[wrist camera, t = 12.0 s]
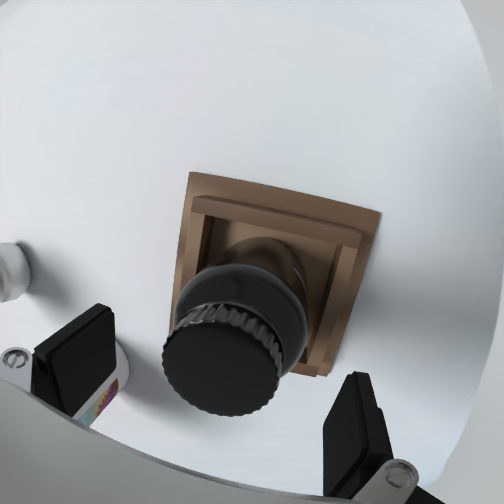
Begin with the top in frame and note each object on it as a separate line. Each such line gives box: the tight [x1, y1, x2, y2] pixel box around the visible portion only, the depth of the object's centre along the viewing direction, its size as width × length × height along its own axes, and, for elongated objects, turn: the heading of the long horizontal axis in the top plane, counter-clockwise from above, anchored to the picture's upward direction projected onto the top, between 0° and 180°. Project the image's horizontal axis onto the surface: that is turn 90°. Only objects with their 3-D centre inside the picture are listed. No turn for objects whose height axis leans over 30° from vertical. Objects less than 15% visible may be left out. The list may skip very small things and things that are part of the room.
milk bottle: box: [72, 341, 130, 427], centre depth 18 cm, size 8×8×20 cm
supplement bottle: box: [162, 237, 308, 417], centre depth 17 cm, size 7×7×12 cm
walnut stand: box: [169, 172, 379, 377], centre depth 21 cm, size 14×14×3 cm
